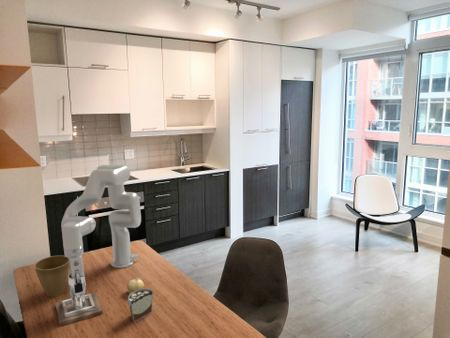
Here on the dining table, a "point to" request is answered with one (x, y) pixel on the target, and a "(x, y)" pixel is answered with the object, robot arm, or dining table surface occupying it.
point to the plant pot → (53, 274)
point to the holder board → (69, 315)
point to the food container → (140, 303)
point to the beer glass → (77, 294)
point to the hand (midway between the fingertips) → (77, 287)
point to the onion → (135, 285)
